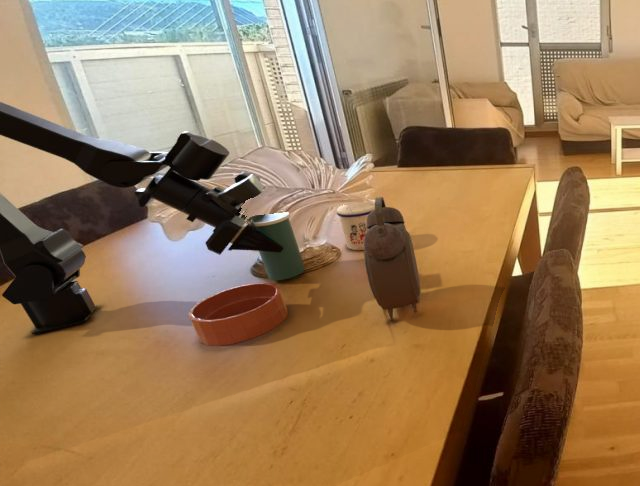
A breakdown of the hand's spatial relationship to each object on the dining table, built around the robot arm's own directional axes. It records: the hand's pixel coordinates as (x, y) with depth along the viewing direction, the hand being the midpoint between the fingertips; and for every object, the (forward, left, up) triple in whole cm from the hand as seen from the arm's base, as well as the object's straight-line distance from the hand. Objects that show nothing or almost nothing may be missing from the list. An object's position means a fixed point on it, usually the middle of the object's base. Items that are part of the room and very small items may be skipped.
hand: (285, 243), depth 92 cm
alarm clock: (+16, -25, -8) cm, 30 cm away
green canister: (-1, 0, -6) cm, 6 cm away
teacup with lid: (+16, +10, -8) cm, 20 cm away
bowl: (-7, -16, -7) cm, 19 cm away
